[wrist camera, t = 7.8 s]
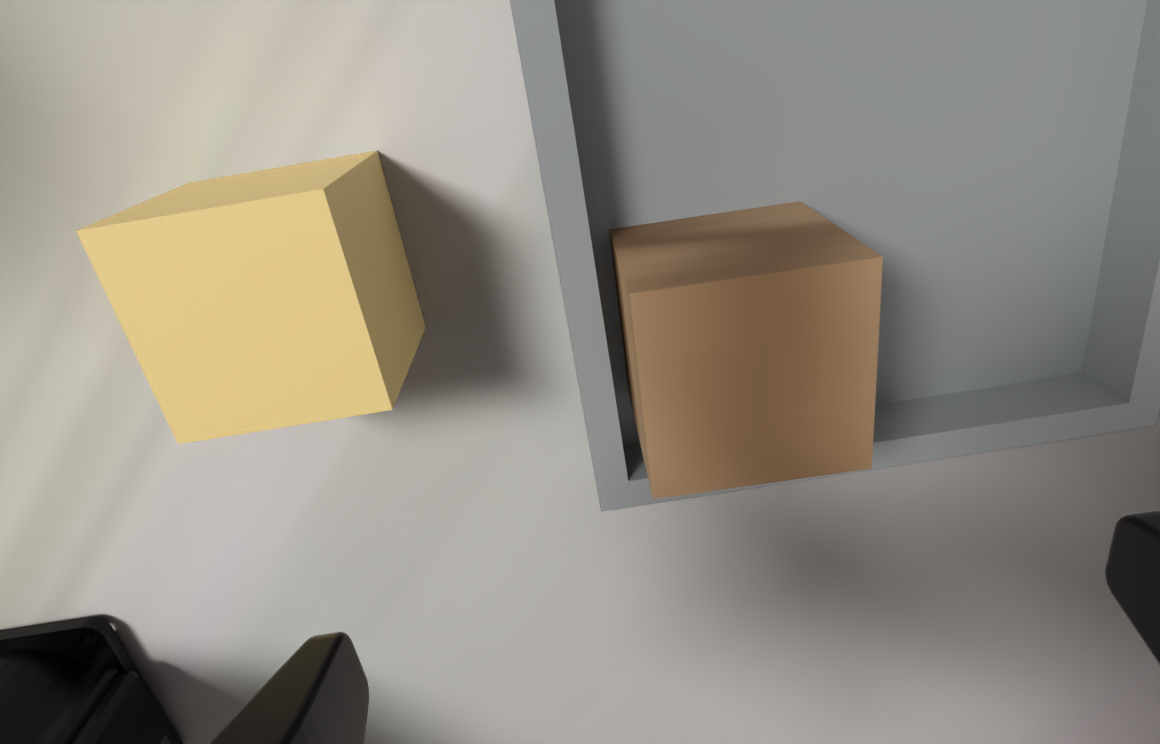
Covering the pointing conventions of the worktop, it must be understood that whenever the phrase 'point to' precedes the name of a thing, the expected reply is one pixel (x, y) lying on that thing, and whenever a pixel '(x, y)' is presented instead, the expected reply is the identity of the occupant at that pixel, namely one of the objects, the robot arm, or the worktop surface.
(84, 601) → the worktop surface
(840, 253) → the walnut block
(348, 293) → the mustard block
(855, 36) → the tray
